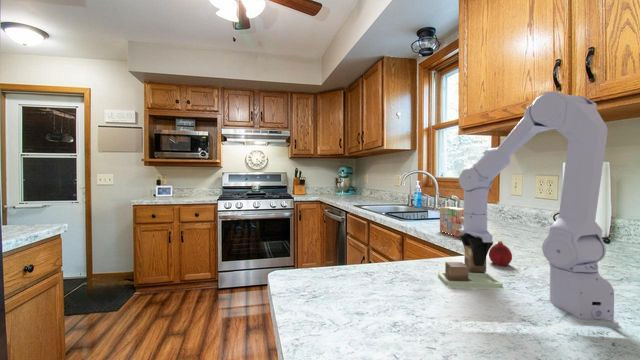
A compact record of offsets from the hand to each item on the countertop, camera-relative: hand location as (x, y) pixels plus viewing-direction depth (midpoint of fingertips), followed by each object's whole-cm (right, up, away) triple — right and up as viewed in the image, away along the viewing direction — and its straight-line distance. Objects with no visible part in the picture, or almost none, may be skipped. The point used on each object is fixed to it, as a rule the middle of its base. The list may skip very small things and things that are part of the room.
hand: (475, 263), depth 79 cm
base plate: (-6, -3, -8) cm, 10 cm away
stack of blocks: (+20, -3, +50) cm, 55 cm away
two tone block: (0, -2, 0) cm, 2 cm away
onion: (+10, -3, +6) cm, 12 cm away
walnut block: (-9, -2, -8) cm, 12 cm away
